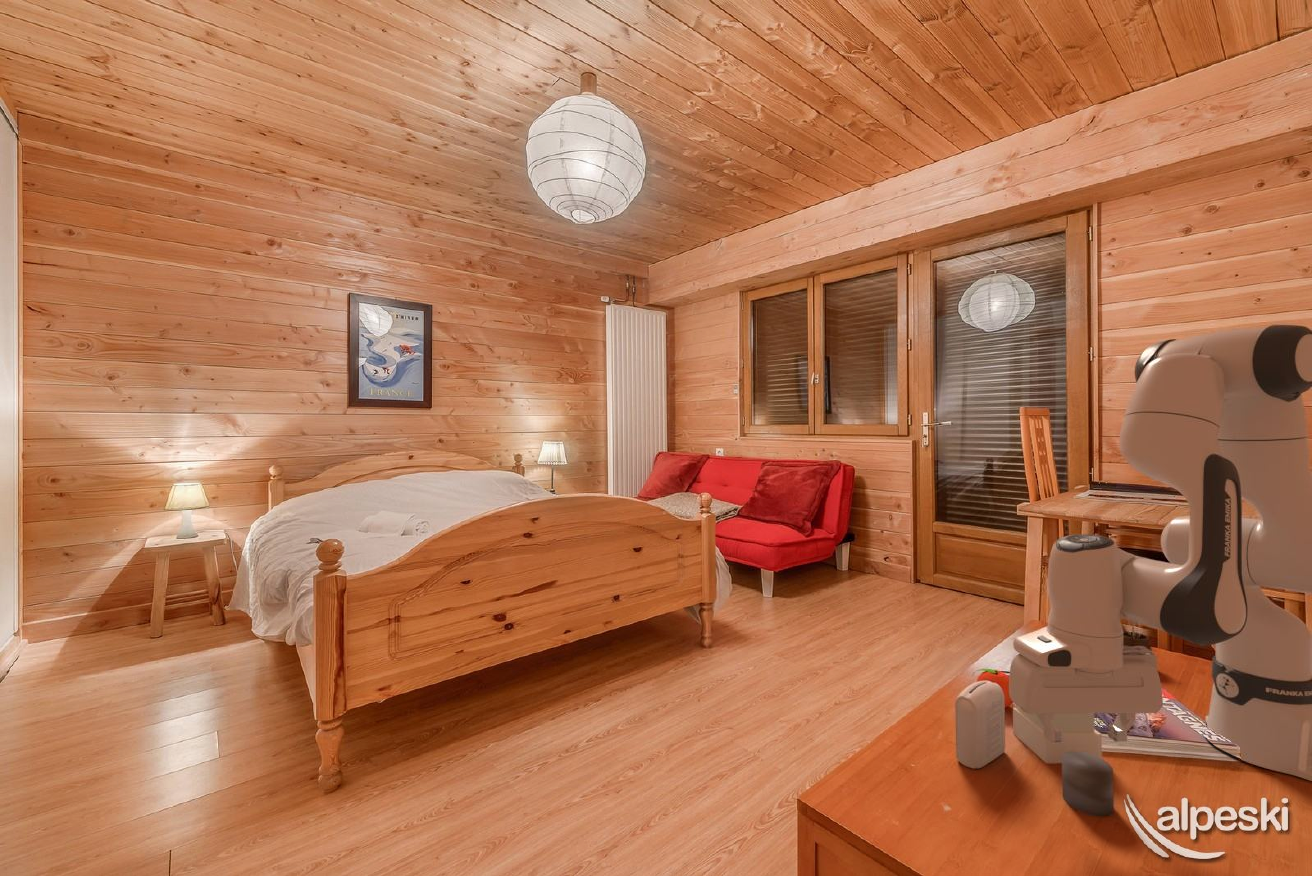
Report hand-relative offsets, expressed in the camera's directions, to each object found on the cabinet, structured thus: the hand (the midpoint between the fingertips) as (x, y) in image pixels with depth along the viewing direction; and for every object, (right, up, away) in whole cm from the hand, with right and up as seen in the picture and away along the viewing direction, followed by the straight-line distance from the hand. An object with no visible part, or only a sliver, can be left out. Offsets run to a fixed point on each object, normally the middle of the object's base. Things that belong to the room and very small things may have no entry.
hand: (1084, 739), depth 82 cm
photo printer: (-8, -10, +12) cm, 18 cm away
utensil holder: (+45, -7, +44) cm, 64 cm away
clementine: (+4, -9, +29) cm, 31 cm away
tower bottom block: (+6, -9, +14) cm, 18 cm away
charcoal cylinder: (+1, -10, 0) cm, 10 cm away
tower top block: (+6, -4, +14) cm, 16 cm away
